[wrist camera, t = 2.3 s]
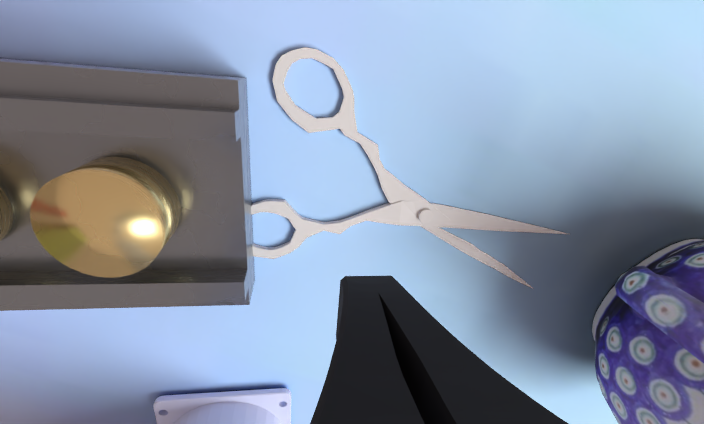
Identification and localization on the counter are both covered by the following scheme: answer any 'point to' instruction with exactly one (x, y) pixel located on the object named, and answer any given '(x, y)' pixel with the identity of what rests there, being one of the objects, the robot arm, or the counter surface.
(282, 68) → the scissors
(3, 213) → the brass disc
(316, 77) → the counter surface
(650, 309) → the teapot
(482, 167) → the counter surface
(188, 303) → the slot block
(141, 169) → the brass disc
